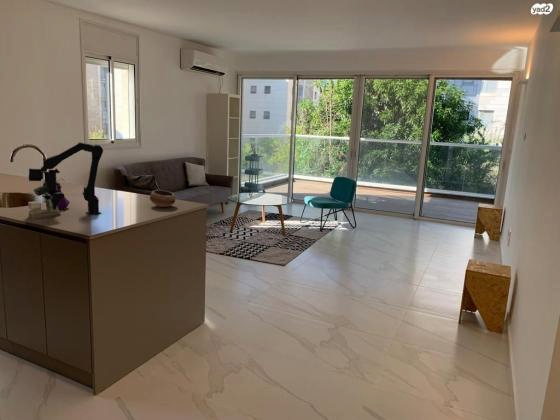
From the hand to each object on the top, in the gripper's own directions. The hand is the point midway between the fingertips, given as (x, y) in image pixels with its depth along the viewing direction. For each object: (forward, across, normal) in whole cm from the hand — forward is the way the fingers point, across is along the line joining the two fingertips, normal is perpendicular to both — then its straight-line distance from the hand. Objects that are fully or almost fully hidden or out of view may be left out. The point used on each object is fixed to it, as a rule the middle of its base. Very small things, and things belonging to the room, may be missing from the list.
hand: (52, 208), depth 243 cm
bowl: (+4, +15, +62) cm, 64 cm away
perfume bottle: (+4, -13, +11) cm, 17 cm away
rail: (+3, 0, -4) cm, 5 cm away
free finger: (+1, 0, 0) cm, 1 cm away
